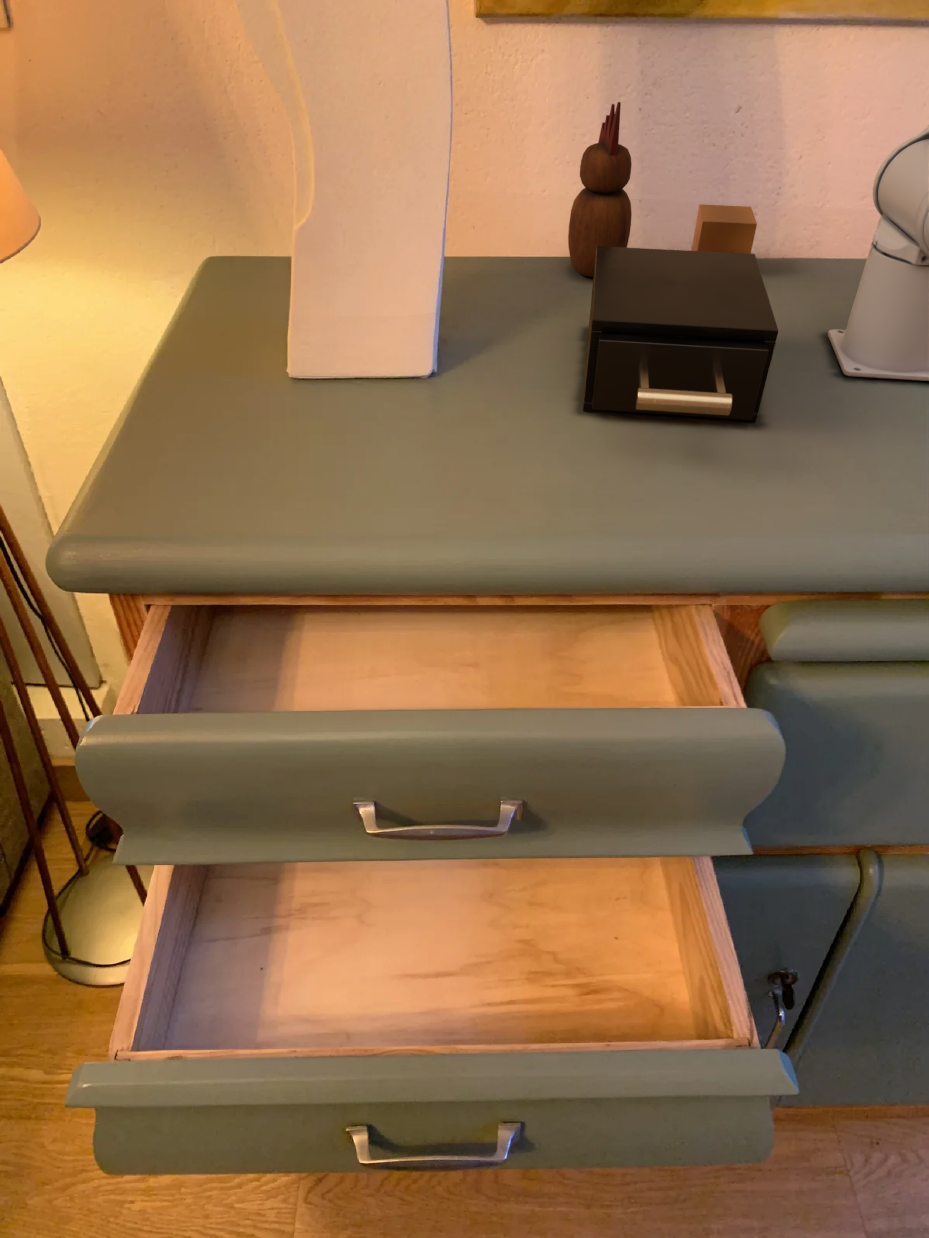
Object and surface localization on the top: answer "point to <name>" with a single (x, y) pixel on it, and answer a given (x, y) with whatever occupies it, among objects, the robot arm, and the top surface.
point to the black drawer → (678, 374)
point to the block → (724, 229)
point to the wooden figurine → (601, 198)
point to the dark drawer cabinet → (678, 304)
